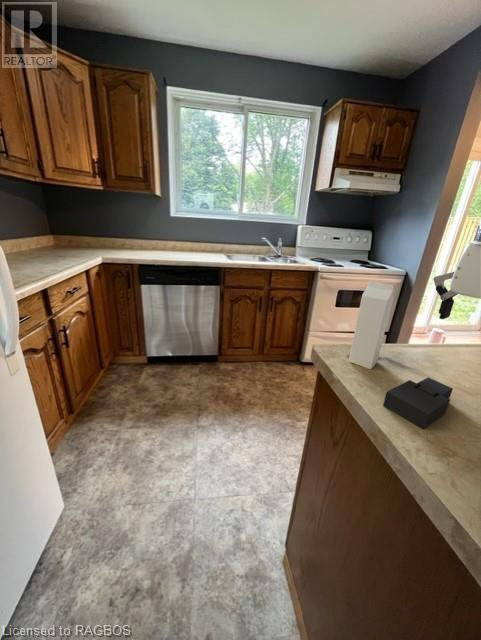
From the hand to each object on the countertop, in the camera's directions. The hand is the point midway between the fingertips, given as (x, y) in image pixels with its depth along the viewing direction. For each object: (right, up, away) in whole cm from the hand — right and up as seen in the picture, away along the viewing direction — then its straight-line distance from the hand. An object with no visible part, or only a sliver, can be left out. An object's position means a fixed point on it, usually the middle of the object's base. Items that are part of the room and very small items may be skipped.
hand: (470, 325), depth 55 cm
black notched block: (-11, -18, +1) cm, 21 cm away
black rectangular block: (-5, -16, +5) cm, 18 cm away
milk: (-13, -11, +20) cm, 26 cm away
